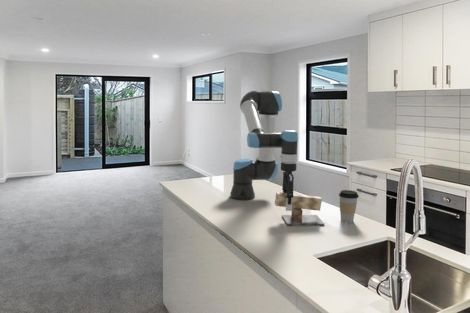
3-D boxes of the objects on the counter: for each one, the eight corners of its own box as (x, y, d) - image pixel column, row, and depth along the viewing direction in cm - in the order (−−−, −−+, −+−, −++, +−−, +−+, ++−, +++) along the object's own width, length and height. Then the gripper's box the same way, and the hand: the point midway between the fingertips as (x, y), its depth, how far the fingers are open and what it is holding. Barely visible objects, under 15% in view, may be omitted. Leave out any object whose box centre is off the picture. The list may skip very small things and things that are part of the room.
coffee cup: (341, 217, 195) (342, 188, 193) (359, 220, 190) (361, 191, 188) (334, 221, 187) (336, 192, 185) (353, 225, 182) (355, 195, 180)
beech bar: (276, 205, 183) (277, 193, 183) (274, 203, 187) (276, 191, 186) (320, 210, 185) (322, 198, 184) (317, 208, 189) (319, 196, 188)
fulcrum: (287, 225, 180) (287, 211, 179) (281, 216, 194) (282, 203, 193) (324, 225, 181) (325, 211, 180) (316, 216, 195) (317, 203, 194)
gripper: (277, 159, 193) (276, 202, 196) (285, 166, 172) (283, 214, 176) (292, 159, 193) (290, 202, 197) (301, 166, 173) (299, 214, 176)
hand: (287, 208), depth 186 cm, fingers open, 8 cm apart
